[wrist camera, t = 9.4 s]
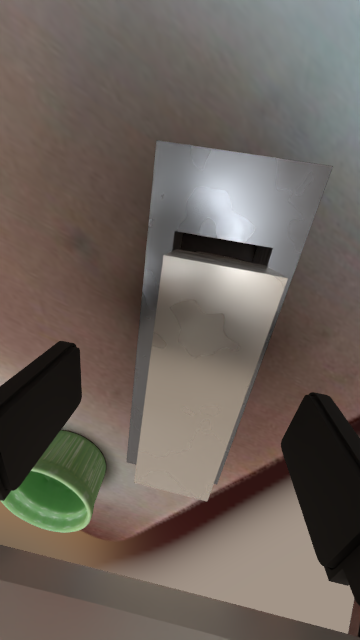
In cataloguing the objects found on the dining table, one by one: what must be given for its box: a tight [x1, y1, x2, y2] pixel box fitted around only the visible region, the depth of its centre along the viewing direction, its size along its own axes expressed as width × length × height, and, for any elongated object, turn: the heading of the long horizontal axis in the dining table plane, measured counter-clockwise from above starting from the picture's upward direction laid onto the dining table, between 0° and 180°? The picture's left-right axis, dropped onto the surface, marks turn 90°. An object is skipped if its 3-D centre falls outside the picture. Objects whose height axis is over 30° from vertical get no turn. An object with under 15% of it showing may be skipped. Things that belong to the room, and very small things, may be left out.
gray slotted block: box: [127, 140, 333, 484], centre depth 14 cm, size 20×7×4 cm, turn 171°
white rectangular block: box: [134, 249, 288, 501], centre depth 12 cm, size 12×4×7 cm, turn 170°
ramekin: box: [1, 430, 106, 532], centre depth 21 cm, size 9×9×4 cm
